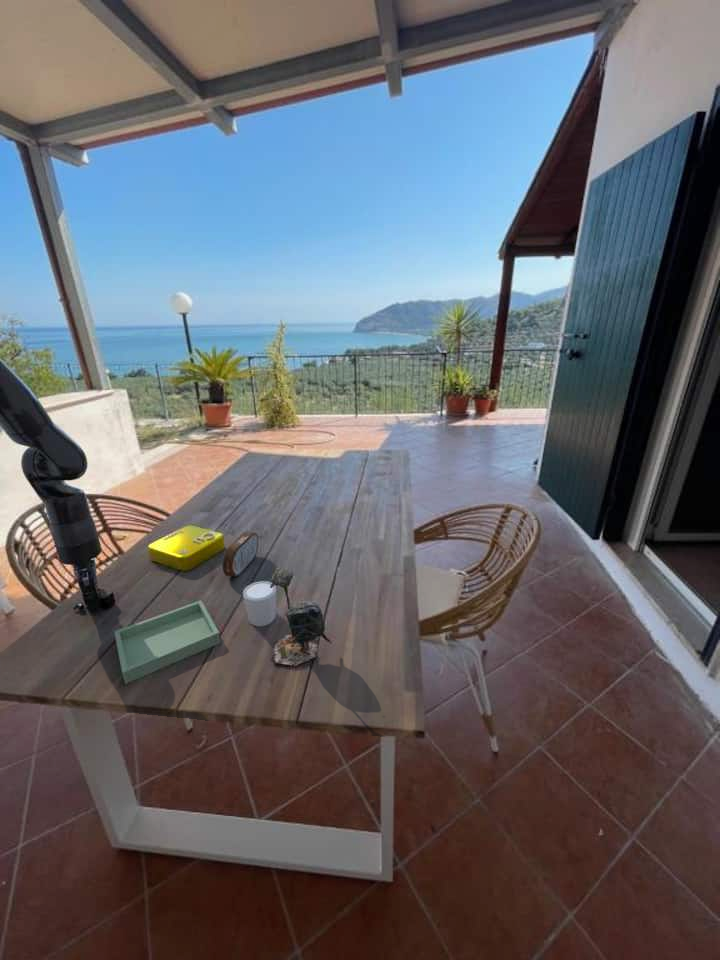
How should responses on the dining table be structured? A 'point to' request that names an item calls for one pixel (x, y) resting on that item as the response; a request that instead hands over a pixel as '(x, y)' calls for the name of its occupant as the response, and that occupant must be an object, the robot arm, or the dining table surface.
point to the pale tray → (165, 640)
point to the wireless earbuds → (104, 597)
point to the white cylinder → (260, 603)
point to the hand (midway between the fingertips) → (94, 603)
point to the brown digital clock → (240, 554)
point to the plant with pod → (298, 626)
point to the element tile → (186, 547)
